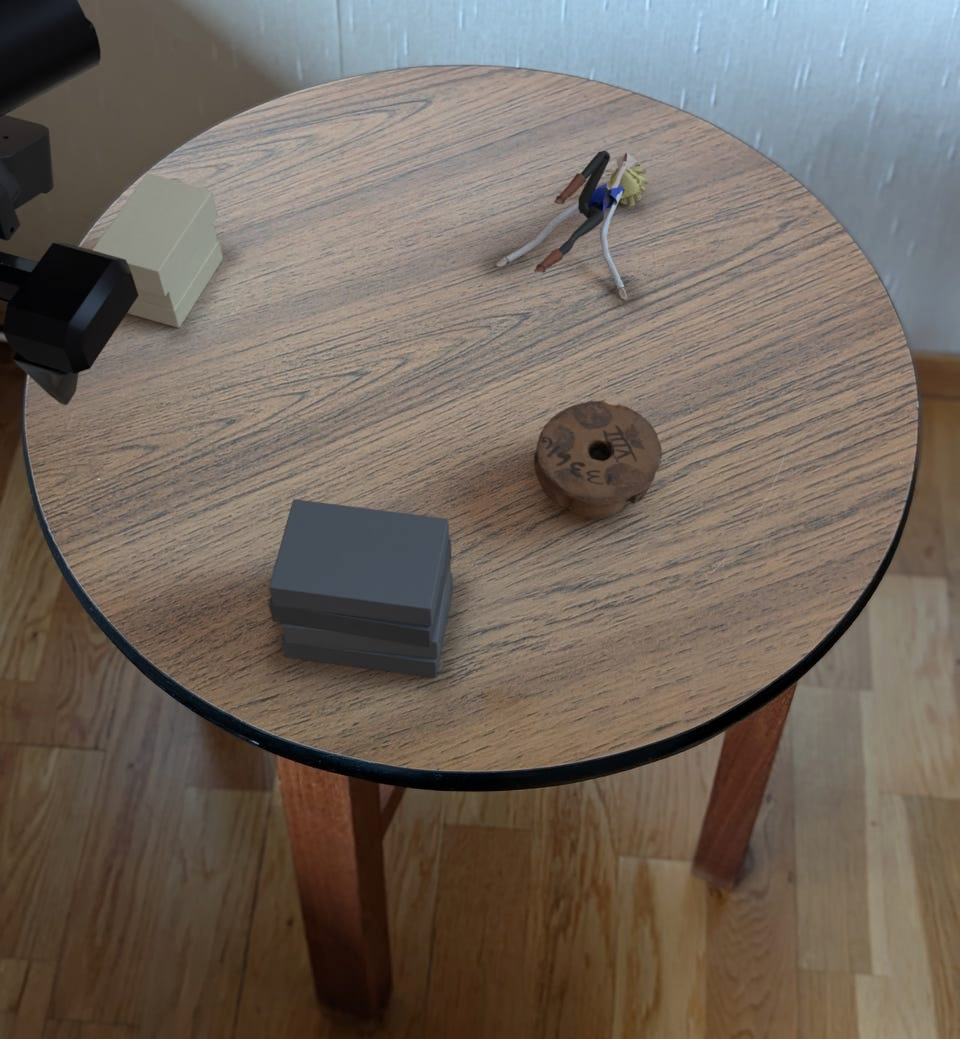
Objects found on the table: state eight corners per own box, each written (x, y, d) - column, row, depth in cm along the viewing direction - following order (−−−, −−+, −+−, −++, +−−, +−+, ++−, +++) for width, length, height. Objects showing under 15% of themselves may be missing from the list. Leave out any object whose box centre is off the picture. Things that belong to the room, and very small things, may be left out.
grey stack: (280, 659, 78) (261, 590, 71) (304, 567, 81) (288, 493, 75) (437, 681, 77) (433, 613, 70) (455, 587, 80) (453, 514, 74)
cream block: (165, 297, 88) (158, 271, 86) (98, 278, 89) (89, 252, 87) (218, 216, 93) (212, 190, 91) (153, 198, 93) (146, 172, 91)
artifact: (613, 427, 87) (620, 378, 83) (676, 512, 83) (687, 466, 79) (510, 473, 85) (512, 425, 81) (570, 562, 81) (575, 517, 77)
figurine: (668, 269, 104) (542, 386, 90) (587, 194, 104) (448, 300, 91) (745, 176, 96) (619, 289, 83) (657, 96, 97) (517, 195, 83)
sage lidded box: (179, 328, 92) (169, 292, 89) (114, 310, 93) (102, 273, 90) (223, 258, 95) (215, 221, 92) (160, 241, 96) (150, 204, 93)
